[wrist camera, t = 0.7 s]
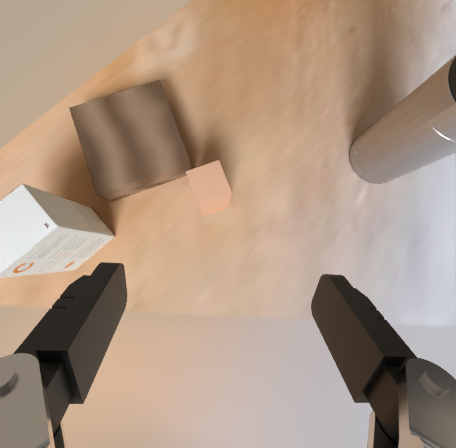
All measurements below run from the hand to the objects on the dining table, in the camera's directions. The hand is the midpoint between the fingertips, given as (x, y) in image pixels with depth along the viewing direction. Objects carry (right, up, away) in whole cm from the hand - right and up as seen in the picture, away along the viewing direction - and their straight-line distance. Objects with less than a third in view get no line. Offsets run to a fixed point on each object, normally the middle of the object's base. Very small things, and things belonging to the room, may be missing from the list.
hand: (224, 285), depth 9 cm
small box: (-23, 0, +27) cm, 35 cm away
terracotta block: (-3, +7, +28) cm, 29 cm away
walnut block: (-14, +15, +29) cm, 36 cm away
